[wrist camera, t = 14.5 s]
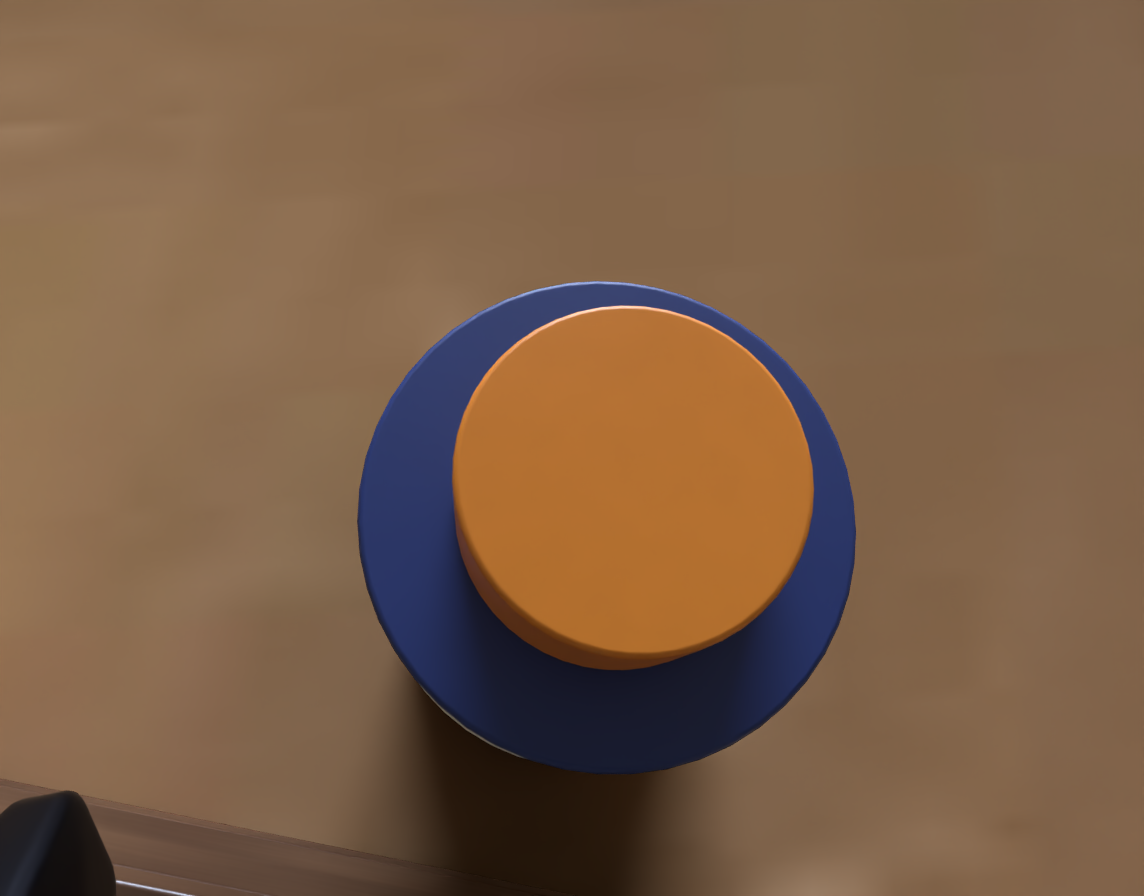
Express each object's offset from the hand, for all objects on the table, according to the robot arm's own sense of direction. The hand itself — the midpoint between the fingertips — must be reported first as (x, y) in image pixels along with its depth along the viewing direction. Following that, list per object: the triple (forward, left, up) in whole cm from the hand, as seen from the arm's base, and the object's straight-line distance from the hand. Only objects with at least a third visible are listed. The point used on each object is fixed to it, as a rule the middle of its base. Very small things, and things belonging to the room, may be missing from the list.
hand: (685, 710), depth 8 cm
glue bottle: (+2, +1, -10) cm, 10 cm away
